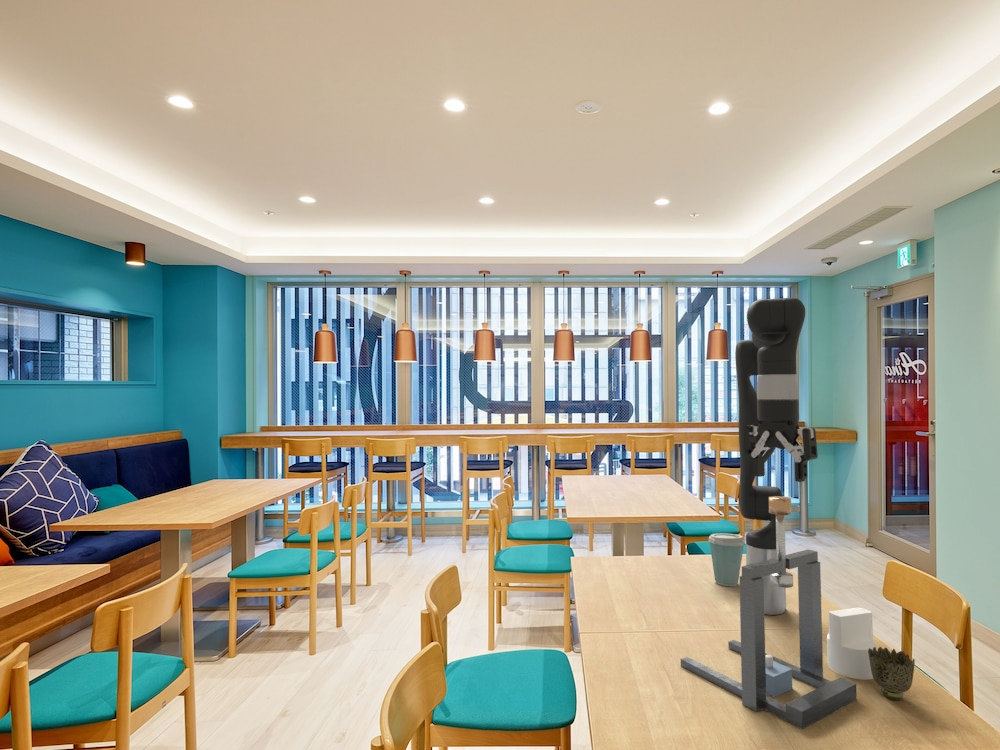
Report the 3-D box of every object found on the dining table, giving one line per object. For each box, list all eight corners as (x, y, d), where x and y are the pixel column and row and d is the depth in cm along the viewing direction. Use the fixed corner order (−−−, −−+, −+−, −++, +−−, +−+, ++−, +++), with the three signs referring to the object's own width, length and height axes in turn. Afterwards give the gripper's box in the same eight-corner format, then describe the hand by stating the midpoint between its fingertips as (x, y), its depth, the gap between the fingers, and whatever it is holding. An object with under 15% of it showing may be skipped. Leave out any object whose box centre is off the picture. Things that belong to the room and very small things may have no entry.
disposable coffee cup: (701, 580, 177) (700, 532, 178) (726, 575, 182) (725, 528, 182) (727, 591, 167) (726, 540, 168) (753, 585, 172) (752, 536, 172)
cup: (924, 709, 105) (922, 665, 105) (879, 705, 106) (878, 662, 106) (903, 688, 112) (902, 647, 112) (862, 685, 113) (861, 644, 114)
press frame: (739, 644, 132) (737, 532, 133) (862, 696, 109) (858, 561, 110) (674, 668, 121) (672, 546, 122) (795, 732, 98) (791, 581, 99)
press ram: (778, 579, 114) (776, 495, 115) (797, 585, 111) (795, 498, 112) (766, 583, 112) (764, 497, 113) (785, 589, 109) (783, 500, 110)
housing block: (765, 676, 118) (764, 647, 118) (792, 689, 112) (791, 658, 113) (746, 684, 114) (746, 654, 115) (774, 697, 109) (773, 666, 109)
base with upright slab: (853, 682, 115) (851, 622, 115) (817, 662, 123) (816, 606, 124) (887, 676, 117) (886, 617, 117) (850, 656, 126) (848, 602, 126)
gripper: (823, 397, 109) (825, 481, 108) (756, 397, 121) (758, 473, 120) (801, 397, 105) (803, 485, 104) (734, 397, 117) (736, 475, 117)
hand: (779, 478), depth 112 cm, fingers open, 8 cm apart
